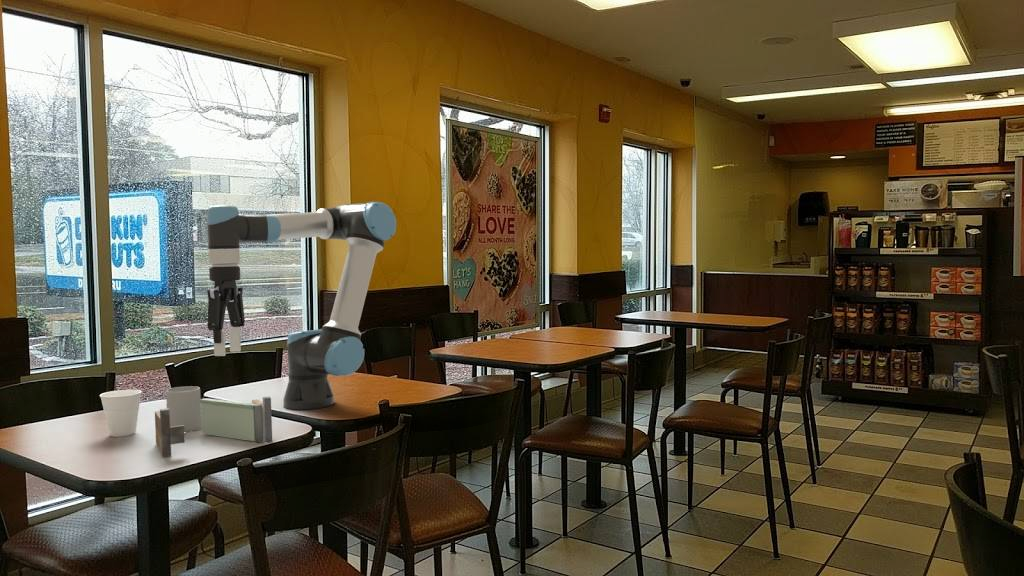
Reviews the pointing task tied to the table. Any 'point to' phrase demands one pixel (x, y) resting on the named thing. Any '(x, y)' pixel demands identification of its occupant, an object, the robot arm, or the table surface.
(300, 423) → the table surface
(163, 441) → the post
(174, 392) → the mug
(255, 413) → the gate
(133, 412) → the cup
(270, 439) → the hinge post
